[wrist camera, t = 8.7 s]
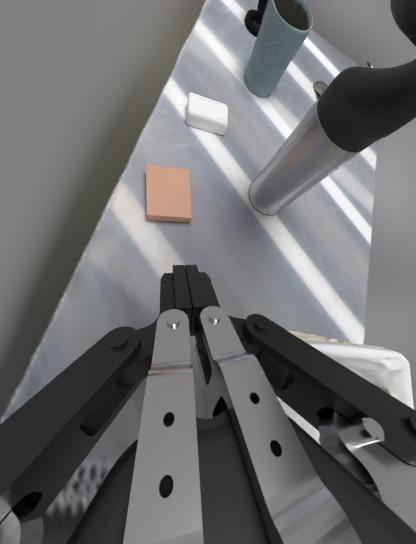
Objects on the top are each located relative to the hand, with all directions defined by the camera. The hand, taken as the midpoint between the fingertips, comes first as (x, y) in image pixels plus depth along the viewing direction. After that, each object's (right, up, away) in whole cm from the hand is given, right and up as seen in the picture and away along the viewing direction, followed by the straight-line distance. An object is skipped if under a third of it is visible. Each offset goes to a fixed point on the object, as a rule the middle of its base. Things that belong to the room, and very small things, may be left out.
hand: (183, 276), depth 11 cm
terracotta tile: (-6, +10, +20) cm, 23 cm away
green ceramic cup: (+15, +51, +33) cm, 62 cm away
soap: (+1, +35, +27) cm, 44 cm away
